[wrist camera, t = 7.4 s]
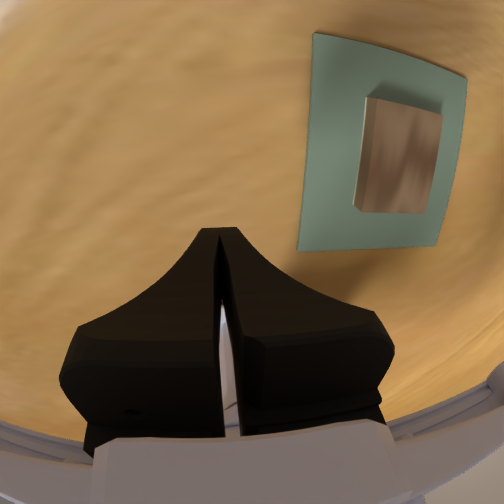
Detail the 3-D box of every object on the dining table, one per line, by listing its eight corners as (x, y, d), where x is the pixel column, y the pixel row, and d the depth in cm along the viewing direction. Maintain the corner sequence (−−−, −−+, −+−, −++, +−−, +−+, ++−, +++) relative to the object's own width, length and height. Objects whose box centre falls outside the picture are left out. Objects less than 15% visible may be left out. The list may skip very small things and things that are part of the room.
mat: (432, 244, 25) (435, 246, 24) (296, 249, 23) (298, 252, 23) (464, 79, 16) (467, 79, 16) (312, 33, 15) (314, 33, 14)
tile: (352, 203, 21) (414, 205, 22) (361, 212, 20) (424, 213, 20) (365, 97, 17) (430, 112, 18) (377, 98, 15) (443, 115, 16)
